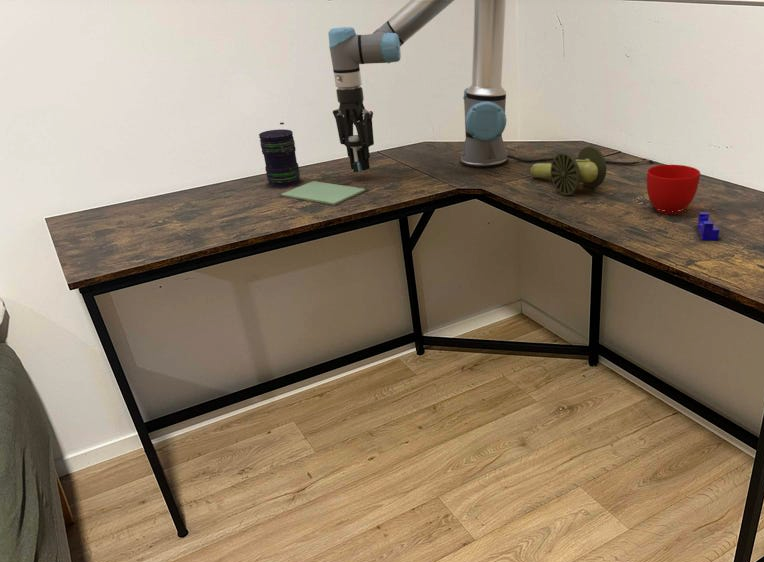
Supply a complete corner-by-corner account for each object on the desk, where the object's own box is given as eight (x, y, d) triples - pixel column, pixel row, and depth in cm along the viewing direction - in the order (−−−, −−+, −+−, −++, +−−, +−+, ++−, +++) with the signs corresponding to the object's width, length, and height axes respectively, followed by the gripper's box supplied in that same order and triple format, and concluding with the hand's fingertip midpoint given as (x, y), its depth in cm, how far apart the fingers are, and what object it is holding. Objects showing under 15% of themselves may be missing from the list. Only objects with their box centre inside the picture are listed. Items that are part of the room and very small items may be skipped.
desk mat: (365, 190, 197) (365, 188, 197) (334, 205, 187) (334, 203, 186) (313, 182, 206) (313, 180, 205) (281, 195, 195) (280, 193, 195)
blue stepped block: (717, 240, 156) (720, 223, 154) (702, 240, 156) (704, 223, 154) (712, 228, 162) (714, 212, 160) (697, 228, 163) (699, 212, 161)
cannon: (519, 181, 200) (519, 142, 194) (549, 173, 206) (550, 135, 200) (578, 200, 183) (580, 158, 177) (609, 191, 189) (612, 150, 183)
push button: (356, 166, 209) (350, 133, 204) (372, 166, 208) (367, 133, 203) (348, 172, 204) (342, 139, 199) (365, 172, 203) (360, 138, 198)
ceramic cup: (701, 200, 180) (707, 163, 175) (690, 221, 167) (695, 181, 162) (653, 195, 185) (656, 158, 180) (638, 215, 172) (641, 176, 167)
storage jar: (261, 186, 204) (249, 125, 195) (281, 177, 212) (270, 118, 202) (288, 189, 201) (277, 127, 191) (307, 180, 208) (297, 119, 199)
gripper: (318, 88, 195) (331, 169, 207) (363, 91, 187) (374, 174, 200) (335, 84, 200) (347, 163, 212) (380, 86, 193) (389, 168, 205)
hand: (360, 168), depth 206 cm, fingers closed on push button, 3 cm apart
